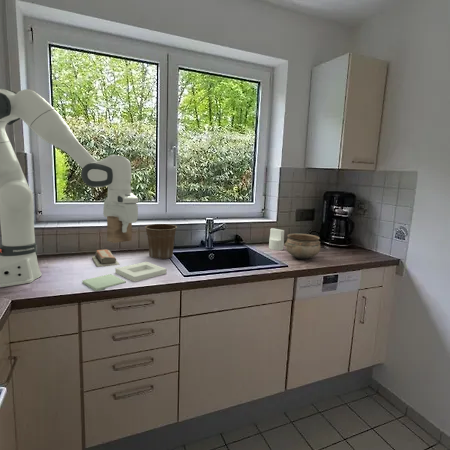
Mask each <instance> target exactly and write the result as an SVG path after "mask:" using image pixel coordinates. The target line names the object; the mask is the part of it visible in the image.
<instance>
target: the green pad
mask: <svg viewBox="0 0 450 450" xmlns="http://www.w3.org/2000/svg"><path fill="white" fill-rule="evenodd" d="M126 282H127V281H126V280H124V279H123V278H120V277H118V276H116V275H114V274H112V273H109V274H105V275H100V276H96V277H91V278H87V279H82V281H81V283H82V284H84V285H85V286H87V287H88V288H91V289H92V290H94V291H95V292H98V291H99V292H100V291H103V290H106V289H107V288H110V287H114V286H118V285H122V284H125V283H126Z"/></svg>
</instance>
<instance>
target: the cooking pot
mask: <svg viewBox="0 0 450 450" xmlns="http://www.w3.org/2000/svg"><path fill="white" fill-rule="evenodd" d="M320 240H321V238H320V236H318V235H313V234H308V233H299V232H297V233H289V234H287V239H286V241H285V242H284V246H285V250H286V252H287V253H288V254H289V255H291V256H292V257H294V258H295V259H297V260H304V261H305V260H309V259H311V258H314V257H315V256H317V255H318V254H319V253H320V251H321V241H320Z"/></svg>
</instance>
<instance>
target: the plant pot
mask: <svg viewBox="0 0 450 450" xmlns="http://www.w3.org/2000/svg"><path fill="white" fill-rule="evenodd" d="M144 228H145V230H146V235H147V245H148V252H149V254H148V255H149V257H150V258H153V259H161V260H166V259H170V258H172V257H173V255H174V246H175V236H176V232H177V230H176V229H177V228H178V226H177V225H174V224H168V223H154V224H148V225H146V226H145V227H144Z"/></svg>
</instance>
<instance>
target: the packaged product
mask: <svg viewBox="0 0 450 450" xmlns="http://www.w3.org/2000/svg"><path fill="white" fill-rule="evenodd" d="M91 258H92V261H93V263H94V265H95V266H96V268H101V267H102V268H103V267H111V266H119V265H120V264H121V263H120V262H118V260H117V258H116V257H115V255H114V254H112V251H111V250H110V249H105V248H104V249H97V250H95V255H92V256H91Z"/></svg>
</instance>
